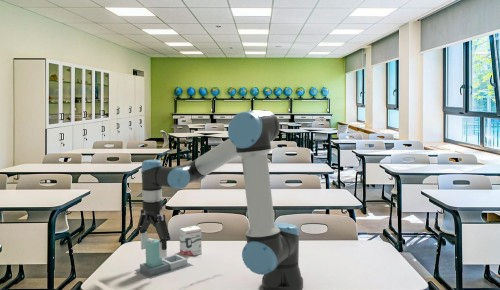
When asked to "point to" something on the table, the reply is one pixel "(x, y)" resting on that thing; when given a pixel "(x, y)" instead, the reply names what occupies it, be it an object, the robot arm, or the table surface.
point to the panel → (164, 266)
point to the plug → (152, 253)
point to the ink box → (190, 241)
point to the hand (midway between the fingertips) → (153, 253)
